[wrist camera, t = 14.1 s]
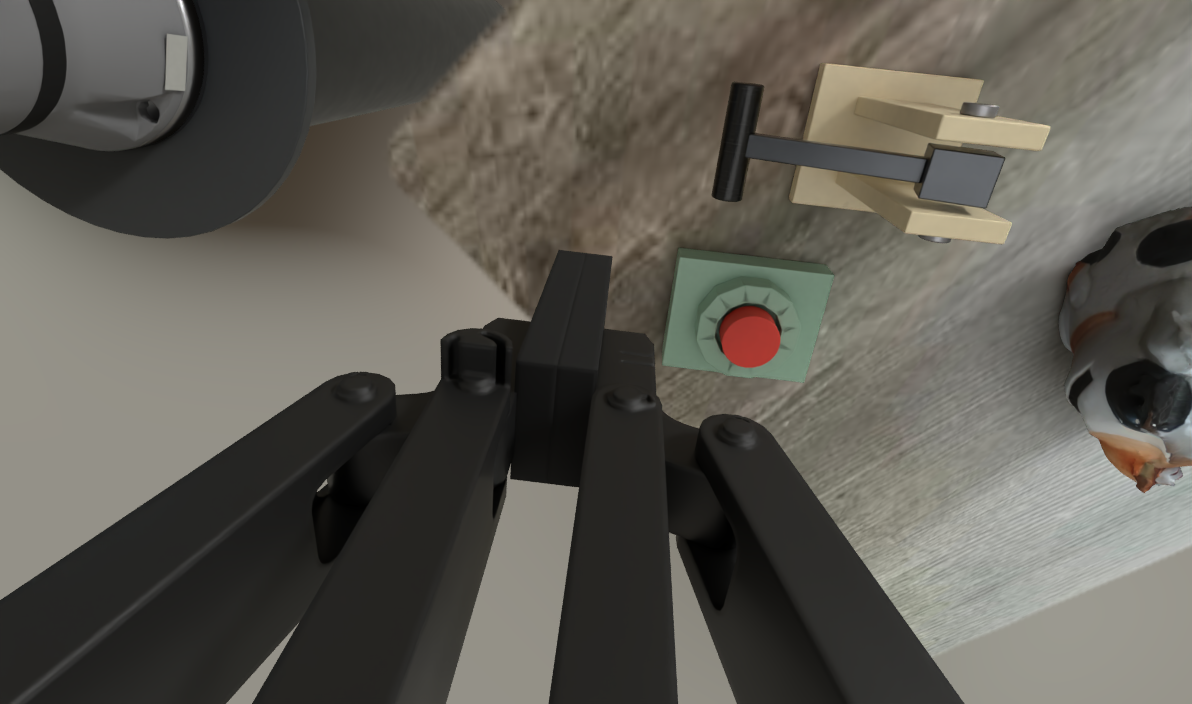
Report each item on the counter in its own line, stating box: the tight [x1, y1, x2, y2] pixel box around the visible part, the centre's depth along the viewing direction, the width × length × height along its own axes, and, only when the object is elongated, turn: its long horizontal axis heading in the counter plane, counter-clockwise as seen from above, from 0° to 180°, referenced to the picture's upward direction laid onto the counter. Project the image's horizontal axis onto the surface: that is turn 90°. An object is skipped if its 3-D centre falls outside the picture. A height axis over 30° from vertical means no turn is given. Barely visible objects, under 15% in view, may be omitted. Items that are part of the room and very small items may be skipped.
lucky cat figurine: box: [1059, 207, 1192, 493], centre depth 36 cm, size 15×12×14 cm
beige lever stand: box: [789, 63, 1050, 244], centre depth 32 cm, size 9×8×13 cm
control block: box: [662, 248, 834, 383], centre depth 41 cm, size 10×8×4 cm
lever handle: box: [712, 82, 1005, 209], centre depth 29 cm, size 12×6×2 cm, turn 84°
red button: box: [719, 306, 780, 368], centre depth 39 cm, size 4×4×2 cm
